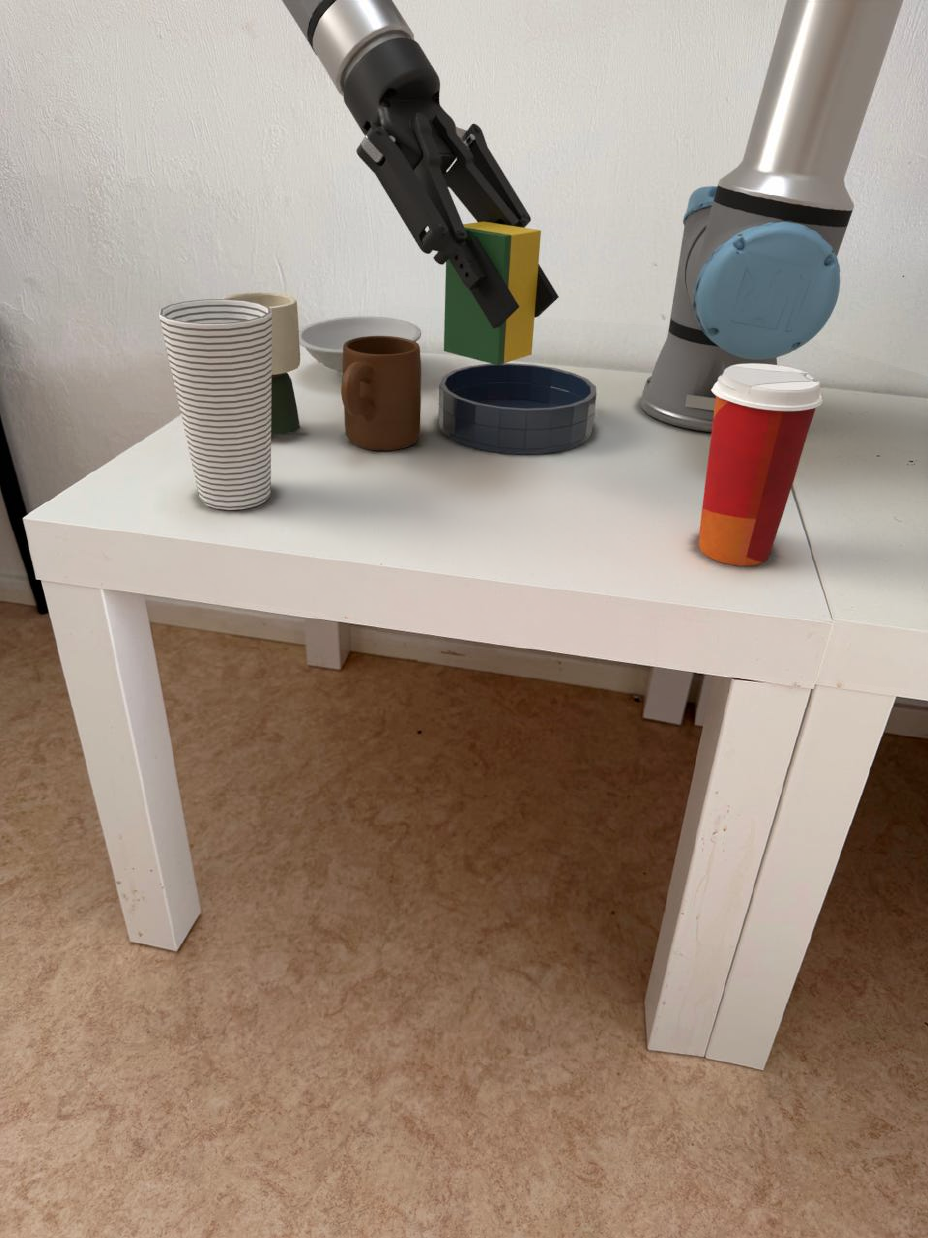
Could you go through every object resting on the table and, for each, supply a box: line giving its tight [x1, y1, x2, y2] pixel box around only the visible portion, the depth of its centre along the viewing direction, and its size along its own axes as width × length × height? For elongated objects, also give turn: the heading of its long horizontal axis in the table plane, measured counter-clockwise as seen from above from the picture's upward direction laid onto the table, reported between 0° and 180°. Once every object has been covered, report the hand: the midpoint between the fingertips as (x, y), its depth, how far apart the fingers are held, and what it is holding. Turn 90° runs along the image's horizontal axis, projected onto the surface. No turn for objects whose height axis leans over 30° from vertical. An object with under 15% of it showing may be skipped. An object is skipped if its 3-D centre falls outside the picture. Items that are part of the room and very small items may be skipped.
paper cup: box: [698, 363, 823, 567], centre depth 67 cm, size 8×8×14 cm
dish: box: [299, 315, 422, 373], centre depth 107 cm, size 18×14×5 cm
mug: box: [340, 336, 422, 452], centre depth 86 cm, size 12×8×9 cm, turn 162°
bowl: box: [437, 362, 598, 455], centre depth 93 cm, size 16×16×4 cm
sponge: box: [443, 221, 542, 365], centre depth 74 cm, size 5×6×10 cm
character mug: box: [221, 292, 301, 436], centre depth 87 cm, size 11×7×13 cm, turn 167°
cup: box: [158, 298, 272, 511], centre depth 72 cm, size 8×8×16 cm
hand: (526, 311), depth 73 cm, fingers closed on sponge, 5 cm apart
